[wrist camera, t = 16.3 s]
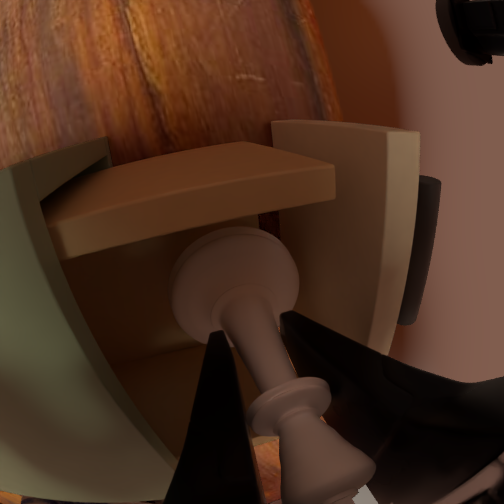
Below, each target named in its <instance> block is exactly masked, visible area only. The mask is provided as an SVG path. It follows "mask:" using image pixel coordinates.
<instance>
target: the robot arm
mask: <svg viewBox="0 0 504 504" xmlns="http://www.w3.org/2000/svg"><path fill="white" fill-rule="evenodd" d="M450 2H451V6H452V10H453V15H454V20H455V24H456V30H457V35H458V41H459V46H460V48H461V50H462V51H465V52H467V53H469V54H471V55H473V56H475V57H476V58H478V59H480V60H482V61H484V62H486V63H488V64H492V63H493V60H492V55H497V56H504V0H473V1H469V0H450ZM279 321H280V335H281V338H282V341H283V343H284V345H285V348H286V350H287V352H288V355H289V357H290V359H291V361H292V364H293V366H294V368H295V370H296V373H297V375H298V377H299V378H302V377H317V378H321V379H323V380H325V381H326V382H327V383H328V385H329V387H330V393H331V396H332V397H331V403H330V405H329V407H328V409H327V410H326V411H325V412H324V414H323V415H322V416H323V418H324V420H325V421H326V423H327V424H328V425H329V426H330V427H332V428H333V429H334V430H336V431H337V432H338V433H339V434H340V435H341V436H342V437H343V438H344V439H345V440H346V441H348V442H349V443H350V444H352V445H353V446H354V447H356V448H358V449H360V450H361V451H362V452H364V453H365V454H366V455H367V456H369V457H370V458H371V459H372V460H373V461H374V462H375V464H376V471H375V473H374V475H373V477H372V478H371V479H370V480H369V481H368V482H367V483H366V485H367V487H368V488H369V490H370V491H371V493H372V495H373V496H374V498H375V499H376V501H377V502H378V504H391V503H393V504H504V376H503V377H499V378H495V379H491V380H486V381H482V382H477V383H464V382H459V381H455V380H451V379H448V378H445V377H442V376H439V375H436V374H433V373H429V372H426V371H423V370H420V369H418V368H415V367H412V366H409V365H407V364H404V363H402V362H400V361H397V360H395V359H393V358H391V357H388V356H386V355H384V354H382V355H381V353H380V352H378V351H375V350H373V349H371V348H369V347H367V346H365V345H363V344H361V343H359V342H356V341H354V340H352V339H350V338H348V337H346V336H344V335H342V334H340V333H338V332H336V331H334V330H332V329H330V328H328V327H326V326H324V325H322V324H320V323H318V322H316V321H313V320H311V319H309V318H307V317H305V316H303V315H301V314H300V313H298V312H296V311H293V310H289V311H286V312H283V313H281V314H280V316H279ZM162 504H267V503H266V498H265V494H264V490H263V486H262V482H261V477H260V473H259V469H258V464H257V460H256V455H255V451H254V446H253V441H252V437H251V432H250V427H249V425H248V423H247V419H246V408H245V403H244V399H243V395H242V390H241V386H240V382H239V377H238V373H237V368H236V364H235V359H234V356H233V353H232V350H231V348H230V345H229V343H228V340H227V338H226V335H225V333H224V331H223V330H218V331H214V332H211V333H210V334H209V338H208V342H207V346H206V351H205V355H204V359H203V363H202V368H201V372H200V377H199V381H198V385H197V390H196V394H195V399H194V403H193V408H192V412H191V417H190V422H189V425H188V430H187V434H186V438H185V442H184V446H183V450H182V452H181V455H180V458H179V461H178V464H177V467H176V470H175V472H174V475H173V478H172V480H171V483H170V485H169V488H168V491H167V493H166V496H165V499H164V501H163V503H162Z"/></svg>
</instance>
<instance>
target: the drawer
mask: <svg viewBox="0 0 504 504" xmlns="http://www.w3.org/2000/svg"><path fill="white" fill-rule="evenodd" d="M271 130H272V140H273V148H272V147H268V146H264V145H259V144H255V143H251V142H247V141H239V142H232V143H226V144H219V145H213V146H207V147H202V148H196V149H191V150H185V151H180V152H175V153H170V154H166V155H161V156H156V157H152V158H148V159H143V160H139V161H135V162H131V163H127V164H123V165H119V166H115V167H112V168H108V169H104V170H101V171H97V172H94V173H90V174H87V175H84V176H80V177H77V178H74V179H71V180H68V181H67V182H66V183H64V184H63V185H61V186H60V187H59V188H57V189H56V190H54V191H53V192H52V193H50V194H49V195H48V196H46V197H45V198H44V199H43V200H41V201H40V206H41V209H42V213H43V216H44V219H45V223H46V226H47V229H48V232H49V235H50V238H51V241H52V244H53V246H54V249H55V252H56V255H57V257H58V260H59V262H60V265H61V268H62V270H63V273H64V275H65V277H66V280H67V282H68V285H69V287H70V289H71V291H72V294H73V296H74V298H75V300H76V303H77V305H78V307H79V309H80V311H81V313H82V315H83V317H84V319H85V321H86V323H87V325H88V327H89V329H90V331H91V333H92V335H93V337H94V339H95V341H96V342H97V344H98V346H99V348H100V350H101V351H102V353H103V355H104V357H105V358H106V360H107V362H108V364H109V365H110V367H111V369H112V370H113V372H114V374H115V375H116V377H117V378H118V380H119V382H120V383H121V385H122V386H123V388H124V389H125V391H126V393H127V394H128V396H129V397H130V399H131V400H132V402H133V403H134V404H135V406H136V407H137V409H138V410H139V412H140V413H141V414H142V416H143V417H144V419H145V420H146V421H147V423H148V424H149V425H150V427H151V428H152V429H153V431H154V432H155V433H156V435H157V436H158V437H159V438H160V440H161V441H162V442H163V443H164V445H165V446H166V447H167V448H168V450H169V451H170V452H171V453H172V454H173V456H174V457H175V458H176V459H177V460H178V461H179V458H180V455H181V452H182V450H183V446H184V442H185V438H186V434H187V430H188V425H189V422H190V417H191V412H192V408H193V403H194V399H195V394H196V390H197V385H198V381H199V377H200V372H201V368H202V363H203V359H204V355H205V351H206V346H207V344H204V343H201V342H199V341H197V340H195V339H193V338H192V337H191V336H189V335H188V334H187V333H186V332H185V331H184V330H183V329H182V328H181V327H180V326H179V324H178V323H177V321H176V319H175V317H174V315H173V312H172V309H171V306H170V303H169V299H168V281H169V277H170V273H171V271H172V268H173V266H174V264H175V262H176V261H177V259H178V258H179V256H180V255H181V254H182V253H183V251H184V250H185V249H186V248H187V247H188V246H190V245H191V244H192V243H193V242H195V241H196V240H197V239H199V238H201V237H202V236H204V235H206V234H208V233H210V232H213V231H216V230H219V229H223V228H227V227H237V226H243V227H252V228H256V229H259V221H258V214H261V213H266V212H271V211H276V210H278V212H279V226H280V240H281V242H282V243H283V244H284V246H285V247H286V248H287V249H288V251H289V253H290V255H291V257H292V258H293V260H294V262H295V264H296V266H297V270H298V274H299V292H298V297H297V300H296V303H295V305H294V307H293V309H292V310H293V311H296V312H298V313H300V314H301V315H303V316H305V317H307V318H309V319H311V320H313V321H316V322H318V323H320V324H322V325H324V326H326V327H328V328H330V329H332V330H334V331H336V332H338V333H340V334H342V335H344V336H346V337H348V338H350V339H352V340H354V341H356V342H359V343H361V344H363V345H365V346H367V347H369V348H371V349H373V350H375V351H378V352H380V353H381V355H382V354H384V355H386V356H388V353H389V350H390V346H391V342H392V339H393V335H394V332H395V327H396V324H400V325H411V324H413V323H414V322H415V321H416V318H417V315H418V311H419V307H420V304H421V300H422V296H423V292H424V287H425V284H426V279H427V275H428V270H429V265H430V260H431V255H432V249H433V244H434V238H435V232H436V226H437V218H438V211H439V202H440V191H441V181H440V180H438V179H436V178H433V177H428V176H422V175H419V167H420V133H419V132H418V131H411V130H405V129H399V128H391V127H385V126H377V125H368V124H359V123H348V122H336V121H321V120H298V119H293V120H279V121H271ZM230 348H231V350H232V353H233V356H234V359H235V364H236V368H237V373H238V377H239V382H240V386H241V390H242V395H243V399H244V403H245V408H246V412H247V410H248V408H249V406H250V405H251V404H252V403H253V401H254V400H255V399H257V398H258V397H259V396H260V395H261V393H260V391H259V389H258V388H257V386H256V384H255V382H254V380H253V378H252V376H251V375H250V373H249V371H248V369H247V368H246V366H245V364H244V363H243V361H242V359H241V357H240V356H239V354H238V352H237V351H236V349H235V347H230ZM293 369H294V368H293ZM294 372H295V370H294ZM295 374H296V377H297V378H299V377H298V375H297V373H296V372H295ZM249 427H250V426H249ZM250 432H251V437H252V441H253V446H257V445H260V444H263V443H267V442H270V441H273V440H276V439H279V436H275V437H267V436H261V435H259V434H257V433H255V432H254V431H253V430H252V428H251V427H250Z"/></svg>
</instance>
